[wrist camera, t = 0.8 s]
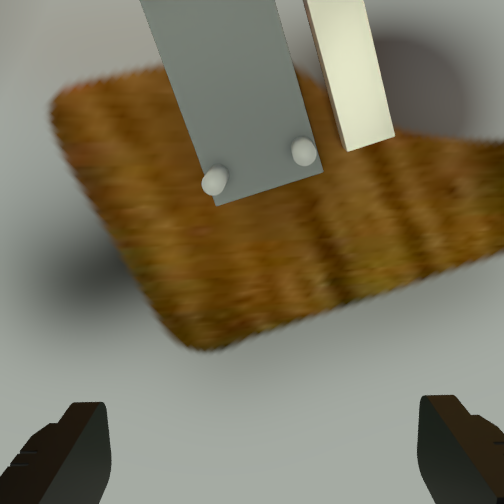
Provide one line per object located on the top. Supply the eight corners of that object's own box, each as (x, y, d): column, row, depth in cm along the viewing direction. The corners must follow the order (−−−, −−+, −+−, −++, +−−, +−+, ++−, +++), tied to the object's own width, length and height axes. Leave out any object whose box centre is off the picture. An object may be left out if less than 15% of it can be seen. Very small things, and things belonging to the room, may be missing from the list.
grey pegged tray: (126, -46, 28) (103, -65, 24) (246, -96, 27) (242, -125, 23) (217, 202, 33) (210, 218, 29) (322, 169, 32) (328, 181, 28)
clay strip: (289, -48, 28) (291, -60, 25) (338, -68, 27) (344, -82, 25) (342, 146, 32) (347, 151, 29) (386, 132, 31) (394, 136, 29)
